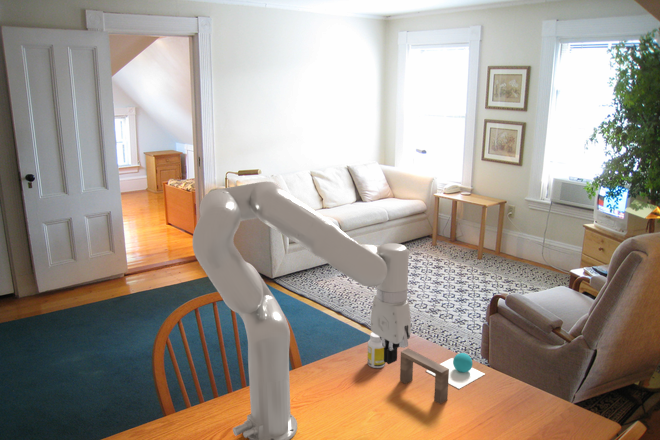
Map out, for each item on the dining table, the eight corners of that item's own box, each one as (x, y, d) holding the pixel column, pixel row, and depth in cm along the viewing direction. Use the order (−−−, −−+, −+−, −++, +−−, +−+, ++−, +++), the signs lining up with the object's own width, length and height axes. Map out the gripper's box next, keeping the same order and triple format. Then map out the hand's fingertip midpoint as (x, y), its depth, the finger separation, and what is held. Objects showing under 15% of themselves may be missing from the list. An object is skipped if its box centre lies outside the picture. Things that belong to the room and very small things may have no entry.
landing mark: (458, 389, 145) (459, 388, 145) (425, 371, 154) (425, 370, 154) (485, 374, 152) (485, 373, 152) (451, 358, 161) (451, 357, 161)
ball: (471, 377, 152) (461, 373, 149) (456, 369, 157) (446, 365, 153) (478, 359, 153) (469, 355, 150) (463, 352, 157) (453, 348, 154)
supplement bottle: (388, 362, 159) (389, 332, 157) (380, 370, 155) (381, 340, 152) (372, 357, 162) (373, 328, 159) (364, 365, 157) (364, 335, 155)
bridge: (440, 404, 138) (441, 372, 136) (399, 380, 149) (400, 351, 147) (447, 399, 140) (449, 368, 137) (407, 377, 151) (408, 348, 148)
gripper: (360, 288, 132) (359, 354, 137) (403, 307, 121) (401, 378, 125) (381, 281, 137) (380, 345, 141) (425, 299, 125) (422, 368, 130)
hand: (390, 361), depth 133 cm, fingers closed
